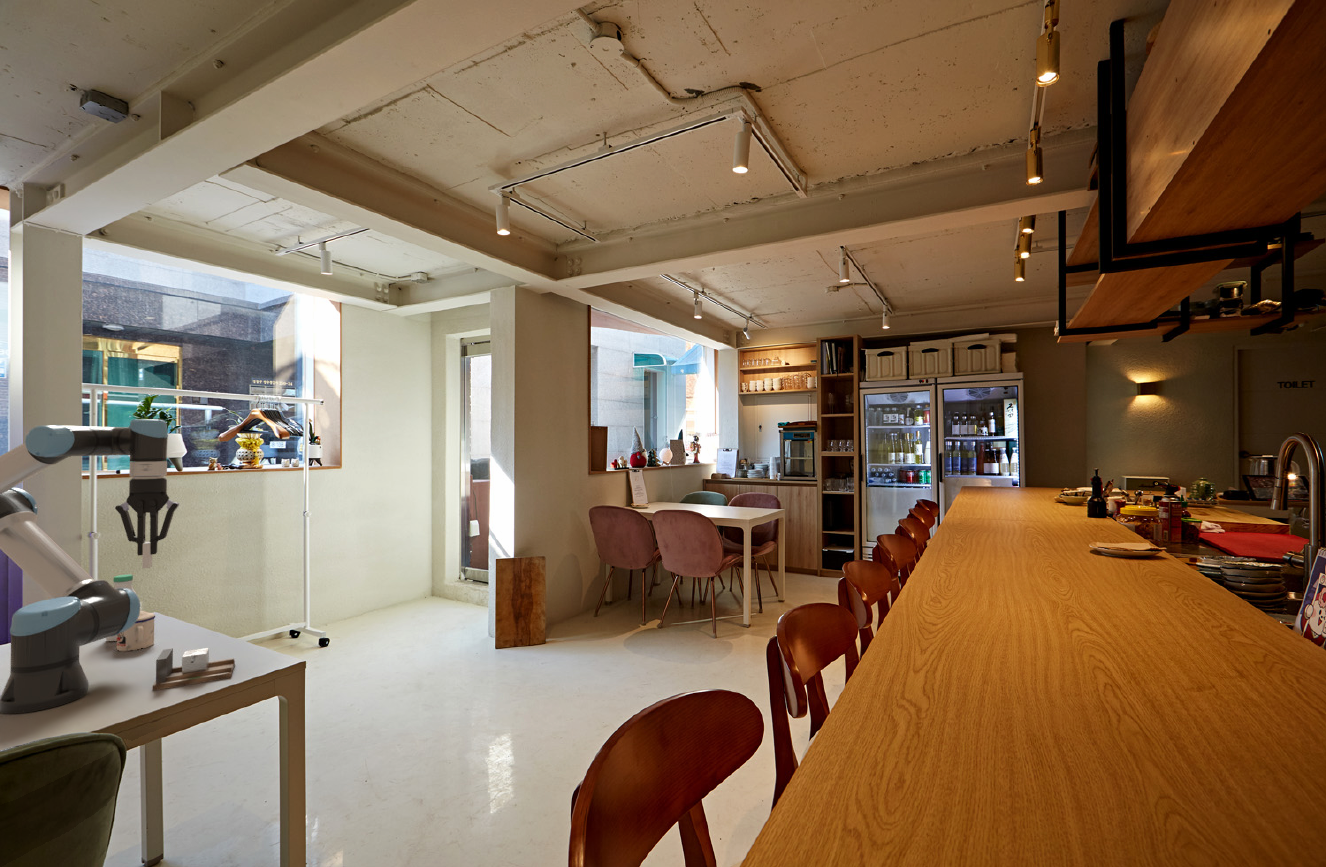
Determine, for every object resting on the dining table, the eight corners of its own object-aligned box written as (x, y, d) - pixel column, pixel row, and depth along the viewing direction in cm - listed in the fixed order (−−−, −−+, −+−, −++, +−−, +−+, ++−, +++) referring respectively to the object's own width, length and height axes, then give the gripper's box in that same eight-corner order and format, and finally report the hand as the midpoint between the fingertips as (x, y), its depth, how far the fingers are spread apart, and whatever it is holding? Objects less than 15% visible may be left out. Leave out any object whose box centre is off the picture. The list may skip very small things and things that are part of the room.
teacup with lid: (112, 647, 183) (113, 609, 183) (151, 640, 190) (151, 603, 190) (120, 656, 176) (121, 616, 176) (160, 648, 183) (161, 609, 183)
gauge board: (152, 690, 151) (152, 661, 151) (161, 676, 160) (161, 648, 160) (230, 677, 159) (231, 650, 159) (234, 664, 169) (235, 638, 169)
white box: (179, 680, 153) (179, 661, 153) (185, 669, 161) (185, 651, 161) (204, 676, 156) (204, 657, 156) (208, 666, 163) (208, 647, 163)
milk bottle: (109, 644, 186) (110, 579, 187) (103, 639, 191) (104, 576, 192) (141, 637, 193) (142, 575, 193) (134, 633, 197) (135, 572, 198)
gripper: (111, 479, 152) (110, 572, 152) (177, 477, 159) (176, 567, 159) (119, 477, 159) (118, 567, 158) (182, 476, 165) (181, 562, 165)
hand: (147, 567), depth 158 cm, fingers closed
